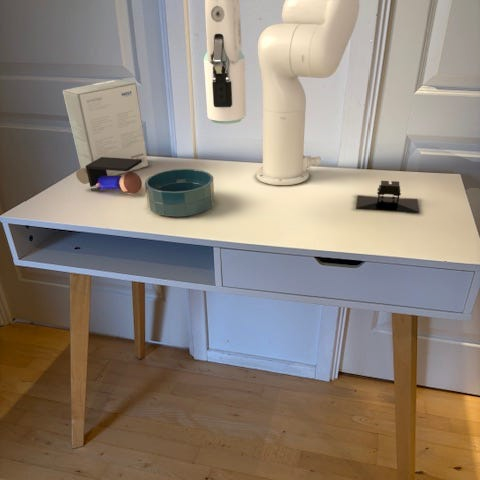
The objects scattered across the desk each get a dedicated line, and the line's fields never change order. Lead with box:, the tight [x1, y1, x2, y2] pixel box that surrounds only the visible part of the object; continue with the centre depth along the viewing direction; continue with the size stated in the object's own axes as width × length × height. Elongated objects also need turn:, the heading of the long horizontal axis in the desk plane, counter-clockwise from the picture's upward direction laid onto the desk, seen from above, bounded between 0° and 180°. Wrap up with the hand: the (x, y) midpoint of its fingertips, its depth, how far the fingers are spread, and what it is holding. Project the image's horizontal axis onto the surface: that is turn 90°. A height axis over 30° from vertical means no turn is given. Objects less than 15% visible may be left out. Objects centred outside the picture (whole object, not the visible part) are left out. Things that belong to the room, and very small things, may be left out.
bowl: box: [144, 168, 216, 217], centre depth 104 cm, size 14×14×6 cm
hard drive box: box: [62, 78, 149, 176], centre depth 120 cm, size 16×8×20 cm, turn 133°
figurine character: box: [75, 157, 143, 195], centre depth 112 cm, size 7×8×15 cm
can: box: [203, 45, 247, 125], centre depth 88 cm, size 7×7×12 cm
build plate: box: [355, 180, 420, 215], centre depth 101 cm, size 12×7×5 cm, turn 76°
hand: (225, 100), depth 89 cm, fingers closed on can, 7 cm apart
